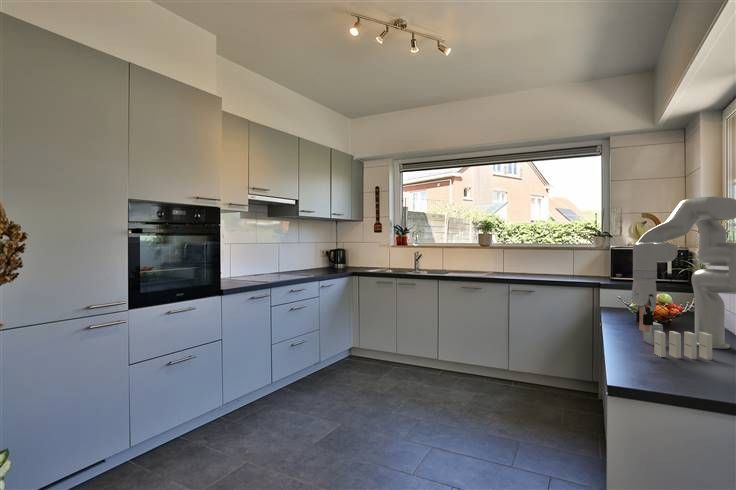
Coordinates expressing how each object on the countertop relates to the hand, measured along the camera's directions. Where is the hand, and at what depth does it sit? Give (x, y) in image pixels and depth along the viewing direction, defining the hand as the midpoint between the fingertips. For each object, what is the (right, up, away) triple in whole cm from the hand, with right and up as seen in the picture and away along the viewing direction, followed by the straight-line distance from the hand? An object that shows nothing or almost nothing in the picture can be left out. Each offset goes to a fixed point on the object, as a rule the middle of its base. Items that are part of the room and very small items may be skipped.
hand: (644, 323), depth 154 cm
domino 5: (+20, -12, -4) cm, 24 cm away
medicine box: (+16, -12, +19) cm, 28 cm away
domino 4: (+15, -12, -3) cm, 19 cm away
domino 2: (+5, -12, -1) cm, 13 cm away
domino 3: (+10, -12, -2) cm, 16 cm away
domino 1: (0, -3, 0) cm, 3 cm away
